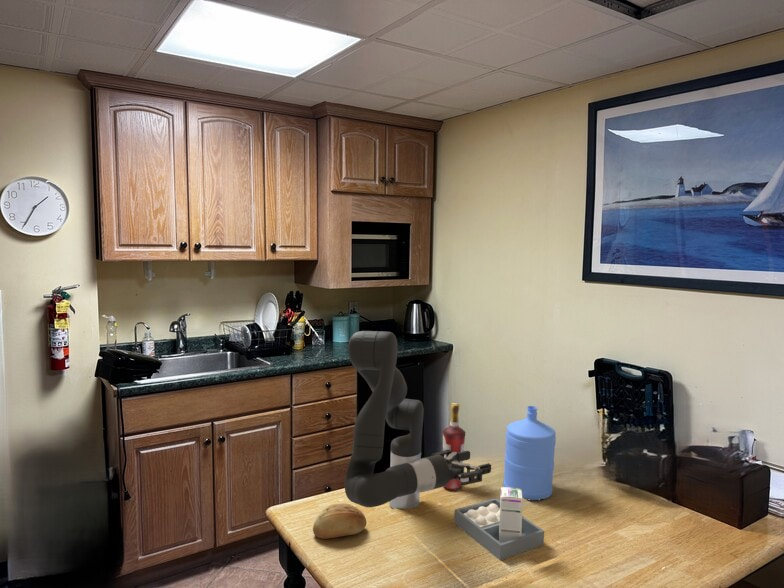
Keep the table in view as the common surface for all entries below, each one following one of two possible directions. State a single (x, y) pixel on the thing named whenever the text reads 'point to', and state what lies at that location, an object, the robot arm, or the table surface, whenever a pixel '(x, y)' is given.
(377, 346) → the robot arm
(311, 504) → the table surface
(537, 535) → the tray
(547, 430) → the water jug
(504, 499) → the syrup box
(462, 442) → the liquor
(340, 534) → the bread roll
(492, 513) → the egg carton
